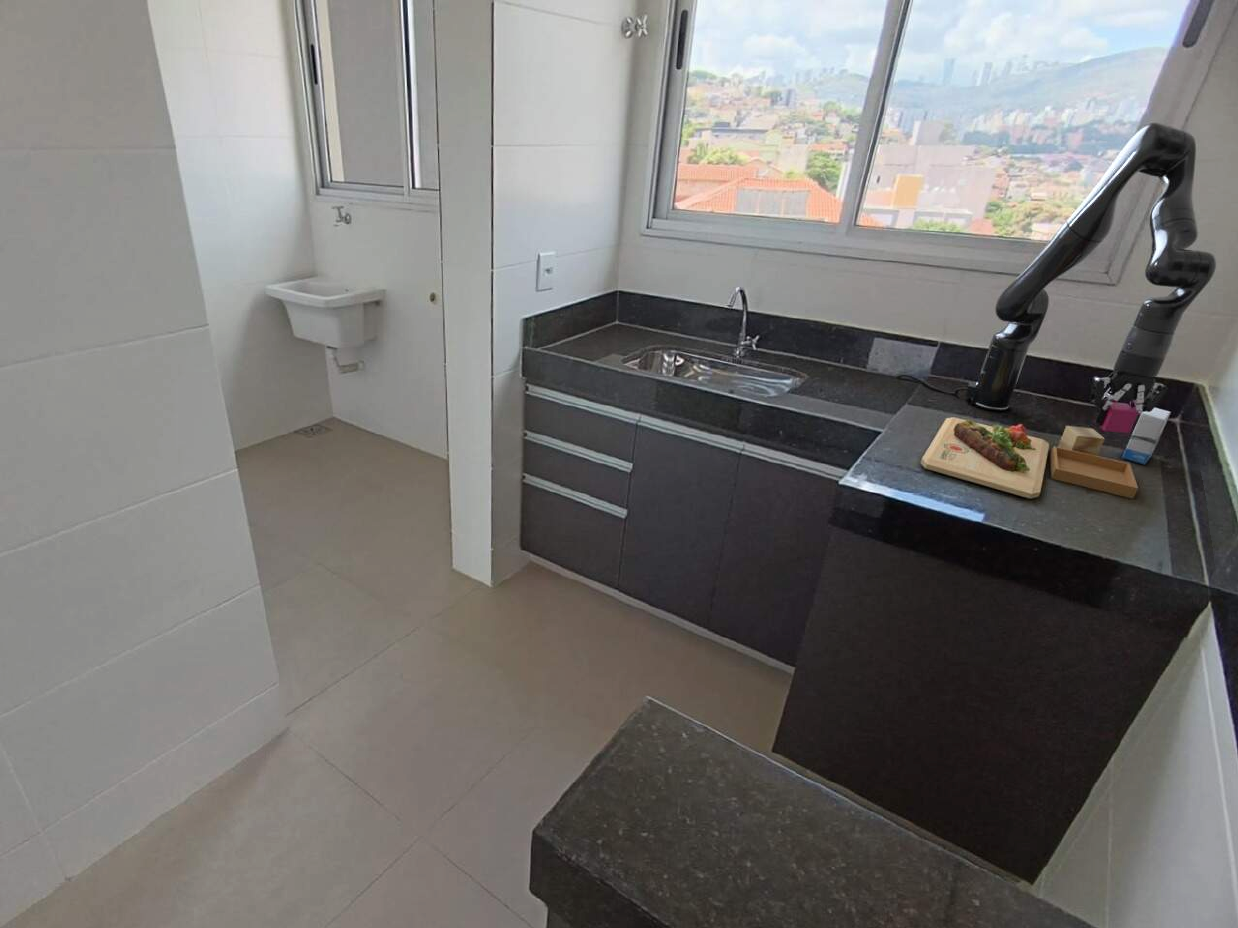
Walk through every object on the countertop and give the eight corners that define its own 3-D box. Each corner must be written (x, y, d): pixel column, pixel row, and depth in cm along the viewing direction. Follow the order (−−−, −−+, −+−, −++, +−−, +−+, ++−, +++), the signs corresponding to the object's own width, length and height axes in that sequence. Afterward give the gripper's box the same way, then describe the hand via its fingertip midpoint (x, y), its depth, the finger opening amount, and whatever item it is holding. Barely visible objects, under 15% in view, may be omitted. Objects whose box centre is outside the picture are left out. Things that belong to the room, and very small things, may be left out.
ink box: (1144, 465, 155) (1166, 420, 150) (1119, 458, 158) (1140, 413, 153) (1151, 455, 160) (1173, 411, 155) (1127, 448, 164) (1147, 404, 158)
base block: (1067, 458, 156) (1077, 435, 153) (1057, 447, 161) (1066, 425, 159) (1094, 461, 155) (1105, 438, 153) (1083, 450, 161) (1092, 428, 158)
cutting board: (946, 421, 172) (954, 394, 169) (1047, 447, 161) (1058, 419, 158) (917, 468, 146) (927, 438, 142) (1036, 503, 135) (1049, 470, 131)
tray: (1051, 478, 146) (1055, 468, 144) (1049, 455, 157) (1053, 446, 156) (1133, 498, 139) (1138, 488, 138) (1125, 473, 151) (1130, 463, 149)
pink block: (1104, 430, 141) (1113, 409, 138) (1093, 421, 145) (1102, 400, 143) (1129, 433, 140) (1139, 412, 138) (1117, 424, 145) (1126, 403, 142)
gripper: (1171, 349, 137) (1137, 423, 145) (1098, 341, 139) (1068, 416, 147) (1193, 359, 131) (1156, 437, 138) (1116, 352, 132) (1084, 429, 140)
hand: (1111, 425), depth 142 cm, fingers closed on pink block, 5 cm apart
